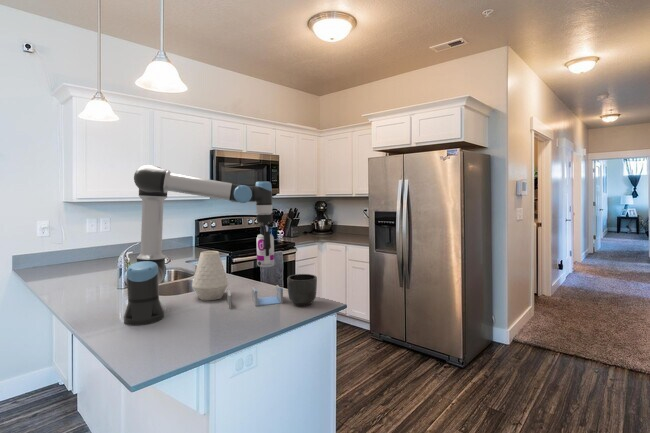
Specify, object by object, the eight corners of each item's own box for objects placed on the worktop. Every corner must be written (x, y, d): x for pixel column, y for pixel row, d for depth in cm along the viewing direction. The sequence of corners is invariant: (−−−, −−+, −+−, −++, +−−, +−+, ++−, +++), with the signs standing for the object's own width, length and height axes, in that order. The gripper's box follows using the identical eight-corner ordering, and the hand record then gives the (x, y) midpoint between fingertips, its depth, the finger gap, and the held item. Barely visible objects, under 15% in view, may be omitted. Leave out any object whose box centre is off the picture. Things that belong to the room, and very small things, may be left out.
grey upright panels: (228, 308, 169) (228, 293, 169) (227, 301, 180) (226, 286, 180) (283, 303, 177) (282, 288, 176) (278, 296, 188) (278, 282, 188)
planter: (292, 299, 184) (291, 273, 183) (319, 300, 181) (319, 274, 180) (284, 307, 170) (283, 280, 169) (313, 309, 168) (313, 281, 167)
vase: (187, 296, 189) (186, 251, 188) (220, 291, 200) (219, 248, 198) (199, 304, 175) (198, 256, 174) (234, 298, 186) (233, 252, 185)
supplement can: (271, 267, 174) (270, 235, 173) (254, 267, 176) (253, 235, 175) (276, 264, 182) (276, 233, 181) (260, 263, 184) (260, 233, 183)
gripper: (276, 214, 169) (277, 264, 170) (268, 212, 189) (269, 256, 190) (259, 215, 166) (261, 265, 168) (253, 213, 186) (255, 257, 188)
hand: (265, 260), depth 179 cm, fingers closed on supplement can, 8 cm apart
